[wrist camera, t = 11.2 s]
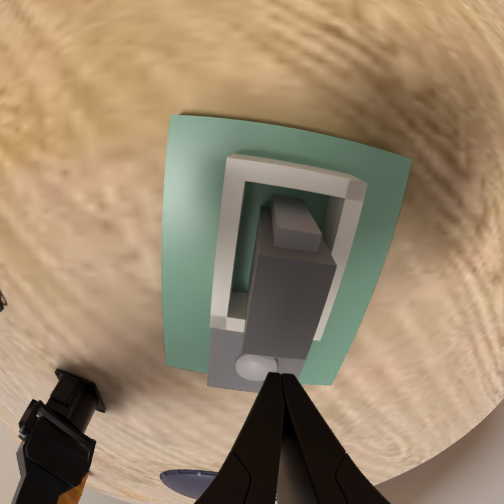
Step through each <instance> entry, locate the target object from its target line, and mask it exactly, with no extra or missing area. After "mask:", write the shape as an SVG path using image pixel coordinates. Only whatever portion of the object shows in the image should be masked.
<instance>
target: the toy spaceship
mask: <svg viewBox="0 0 504 504" xmlns="http://www.w3.org/2000/svg"><path fill="white" fill-rule="evenodd" d="M217 474H218V472H213V471H202V470H187V469H184V470H168V471H164V472H162V473H161V474H160V479H161V480H162V482H163V483H164V484H165V485H166V486H167V487H169V488H170V489H172V490H173V491H175V492H177V493H180V494H182V495H184V496H187V497H190V498H193V499H196V500H197V499H198V498H199V497H200V496H201V494H202V493H203V492H204V491H205V490H206V488H207V487H208V486H209V484H210V483H211V482H212V480H213V479H214V478H215V476H216V475H217ZM276 493H277V490H276ZM275 501H277V498H275Z"/></svg>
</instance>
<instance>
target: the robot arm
mask: <svg viewBox="0 0 504 504" xmlns="http://www.w3.org/2000/svg"><path fill="white" fill-rule="evenodd" d="M55 374H56V376H57V378H58V380H59V382H58V383H57V385H56V387H55V388H54V390H53V391H52V393H51V395H50V398H49V400H48V402H47V403H46V405H45V404H44V403H43V402H42V401H41V400H39V401H36V400H34V399H32V401H31V402H30V404H29V406H28V407H27V409H26V411H25V412H24V414H23V416H22V418H21V420H20V422H19V423H18V424H19V428H20V430H19V432H20V434H19V436H18V437H19V438H20V439H22V442H21V444H20V446H19V448H18V451H17V453H16V455H17V461H18V465H19V470H20V475H21V479H20V482H19V484H18V487H17V489H16V492H15V495H14V497H13V500H12V503H11V504H57V503H58V500H59V497H60V495H62V494H64V493H66V492H67V491H69V490H71V489H73V488H74V487H77V486H78V485H80V484H81V482H82V479H83V478H84V477H85V476H86V474H87V473H88V471H89V468H90V466H91V462H92V457H93V453H94V449H95V445H96V441H95V440H94V439H91V438H89V437H88V436H86V435H85V434H84V433H85V431H86V429H87V426H88V424H89V422H90V420H91V418H92V416H93V413H94V411H95V410H97V411H100V412H102V413H105V411H106V409H105V407H104V404H103V402H102V400H101V397H100V395H99V392H98V390H97V387H96V385H95V384H93V383H91V382H88V381H86V380H83V379H80V378H78V377H75V376H73V375H70V374H68V373H65V372H63V371H60V370H58V369H56V371H55ZM36 415H38V416H40V417H37V416H36ZM276 490H277V503H278V504H391V503H390V502H389V501H387V499H386V498H385V497H384V496H383V495H381V493H380V492H379V491H378V490H377V489H376V488H375V487H374V486H373V485H372V484H371V483H370V482H369V481H368V479H367V478H366V477H365V476H364V475H363V474H362V473H361V471H360V470H359V469H358V467H357V466H356V465H355V463H354V462H353V461H352V459H351V458H350V456H349V455H348V453H346V451H345V449H344V448H343V446H342V445H341V443H340V442H339V441H338V439H337V438H336V436H335V435H334V433H333V432H332V430H331V429H330V427H329V426H328V424H327V423H326V421H325V420H324V419H323V417H322V416H321V414H320V413H319V411H318V410H317V408H316V407H315V405H314V404H313V402H312V401H311V399H310V398H309V396H308V394H307V393H306V391H305V390H304V388H303V387H302V385H301V384H300V382H299V381H298V379H297V378H296V376H295V375H294V374H290V373H282V374H280V373H278V372H268V374H267V376H266V378H265V380H264V382H263V385H262V387H261V389H260V391H259V393H258V395H257V398H256V400H255V402H254V404H253V406H252V408H251V410H250V412H249V414H248V417H247V419H246V421H245V423H244V425H243V427H242V429H241V431H240V433H239V435H238V437H237V439H236V441H235V443H234V445H233V447H232V449H231V451H230V452H229V454H228V456H227V458H226V460H225V462H224V463H223V465H222V467H221V468H220V470H219V472H218V474H217V475H216V476H215V478H214V479H213V480H212V482H211V483H210V484H209V486H208V487H207V488H206V490H205V491H204V492H203V493H202V494H201V496H200V497H199V498H198V499H197V500H196V502H195V503H194V504H275V498H276Z"/></svg>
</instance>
